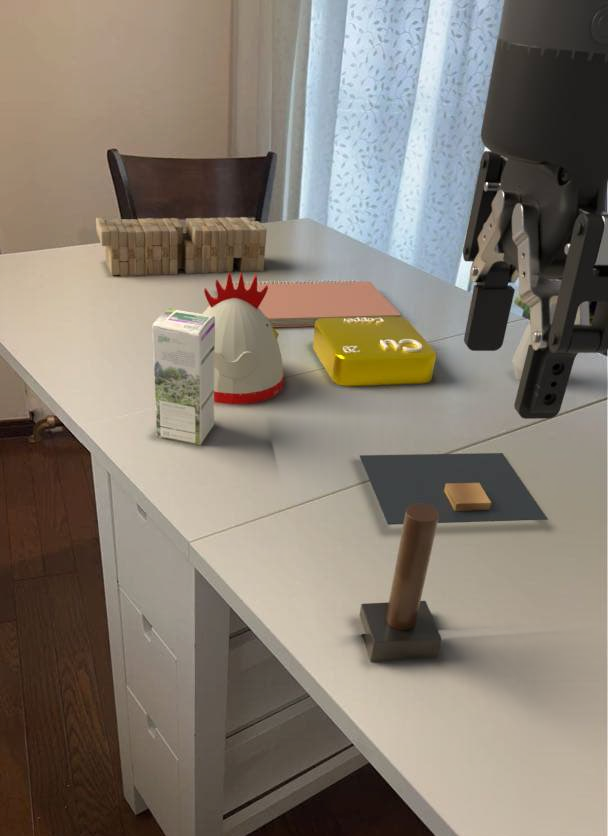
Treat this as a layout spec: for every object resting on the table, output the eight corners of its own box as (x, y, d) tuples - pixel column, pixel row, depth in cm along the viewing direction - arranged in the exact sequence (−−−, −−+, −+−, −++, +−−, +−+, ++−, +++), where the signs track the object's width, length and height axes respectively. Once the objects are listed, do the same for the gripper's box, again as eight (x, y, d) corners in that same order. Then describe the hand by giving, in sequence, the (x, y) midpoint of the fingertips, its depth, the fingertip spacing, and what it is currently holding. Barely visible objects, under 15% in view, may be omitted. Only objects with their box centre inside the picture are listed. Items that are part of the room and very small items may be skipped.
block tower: (252, 262, 154) (97, 262, 144) (255, 217, 149) (94, 213, 139) (263, 276, 148) (103, 277, 138) (267, 229, 143) (101, 226, 134)
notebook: (366, 288, 144) (368, 277, 143) (399, 325, 132) (401, 313, 130) (218, 291, 138) (218, 280, 136) (237, 329, 125) (237, 317, 124)
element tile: (401, 341, 126) (406, 312, 123) (435, 384, 114) (442, 353, 112) (309, 344, 122) (312, 314, 119) (335, 388, 111) (339, 356, 108)
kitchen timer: (284, 407, 105) (292, 295, 96) (179, 403, 104) (177, 289, 95) (280, 362, 116) (286, 258, 107) (184, 358, 115) (183, 252, 106)
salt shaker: (500, 376, 118) (522, 289, 111) (523, 367, 122) (545, 282, 114) (533, 391, 115) (558, 303, 107) (555, 381, 118) (580, 295, 111)
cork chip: (477, 490, 90) (479, 482, 90) (489, 510, 87) (491, 502, 86) (443, 490, 89) (445, 483, 89) (454, 511, 86) (456, 503, 86)
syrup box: (215, 425, 100) (217, 313, 91) (200, 448, 95) (200, 332, 86) (172, 417, 101) (169, 305, 92) (154, 439, 96) (150, 323, 87)
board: (500, 461, 98) (502, 452, 97) (545, 528, 87) (548, 519, 86) (358, 463, 95) (359, 455, 94) (386, 533, 84) (387, 524, 83)
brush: (421, 620, 73) (449, 493, 65) (436, 659, 70) (469, 530, 61) (357, 624, 72) (378, 495, 64) (370, 663, 69) (393, 532, 60)
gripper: (760, 61, 30) (627, 442, 39) (595, 27, 41) (523, 330, 51) (572, 50, 29) (483, 444, 38) (455, 18, 40) (409, 329, 49)
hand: (506, 379), depth 44 cm, fingers open, 8 cm apart
